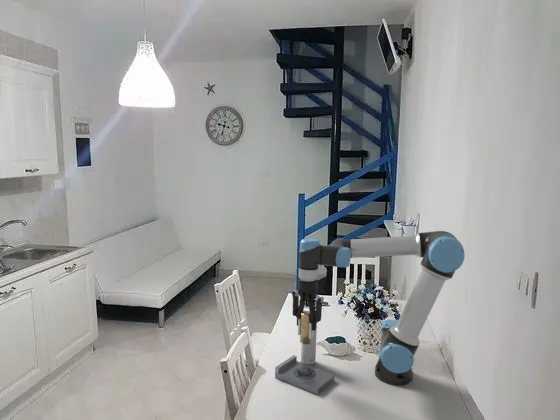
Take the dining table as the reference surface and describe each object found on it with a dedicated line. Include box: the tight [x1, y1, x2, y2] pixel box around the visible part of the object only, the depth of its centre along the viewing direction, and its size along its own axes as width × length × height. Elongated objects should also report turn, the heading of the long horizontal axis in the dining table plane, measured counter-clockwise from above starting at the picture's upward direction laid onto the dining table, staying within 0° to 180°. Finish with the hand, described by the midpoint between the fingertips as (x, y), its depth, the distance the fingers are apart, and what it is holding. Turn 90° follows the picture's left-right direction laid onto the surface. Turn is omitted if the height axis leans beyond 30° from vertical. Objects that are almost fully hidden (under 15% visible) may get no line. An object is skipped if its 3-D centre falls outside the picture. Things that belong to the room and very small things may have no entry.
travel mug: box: [300, 322, 318, 367], centre depth 184 cm, size 6×7×20 cm
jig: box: [274, 354, 336, 396], centre depth 171 cm, size 20×13×4 cm, turn 54°
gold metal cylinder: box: [299, 310, 311, 344], centre depth 169 cm, size 4×4×12 cm
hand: (305, 335), depth 169 cm, fingers closed on gold metal cylinder, 4 cm apart
